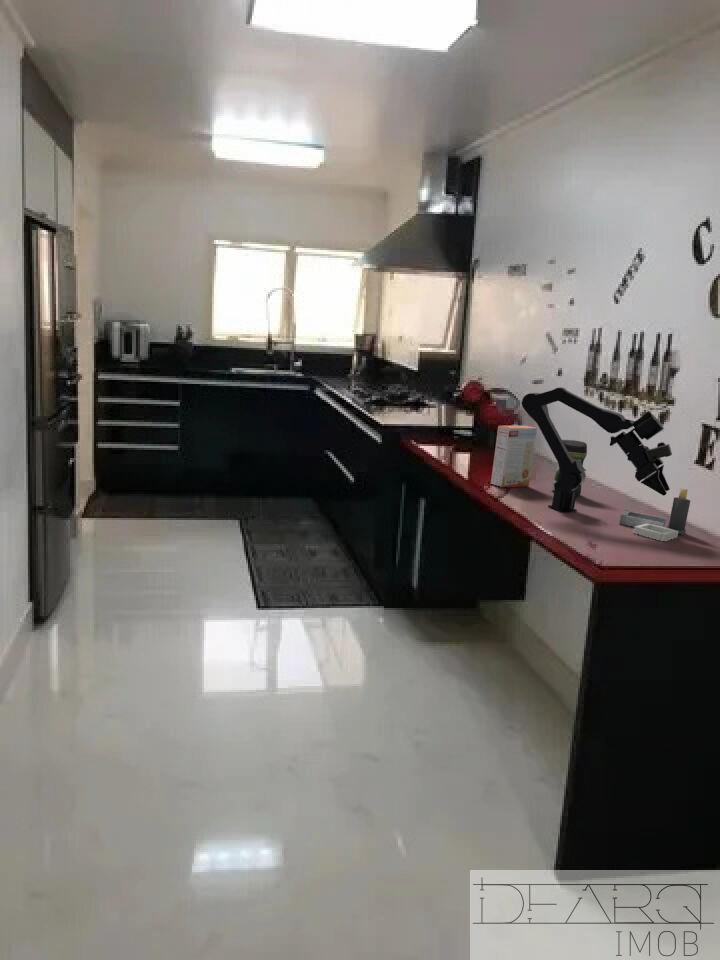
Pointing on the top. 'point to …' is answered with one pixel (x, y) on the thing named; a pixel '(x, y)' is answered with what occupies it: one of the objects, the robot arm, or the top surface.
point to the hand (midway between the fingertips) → (666, 492)
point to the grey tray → (640, 519)
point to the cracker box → (513, 456)
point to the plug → (679, 512)
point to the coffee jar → (576, 452)
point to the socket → (655, 532)
